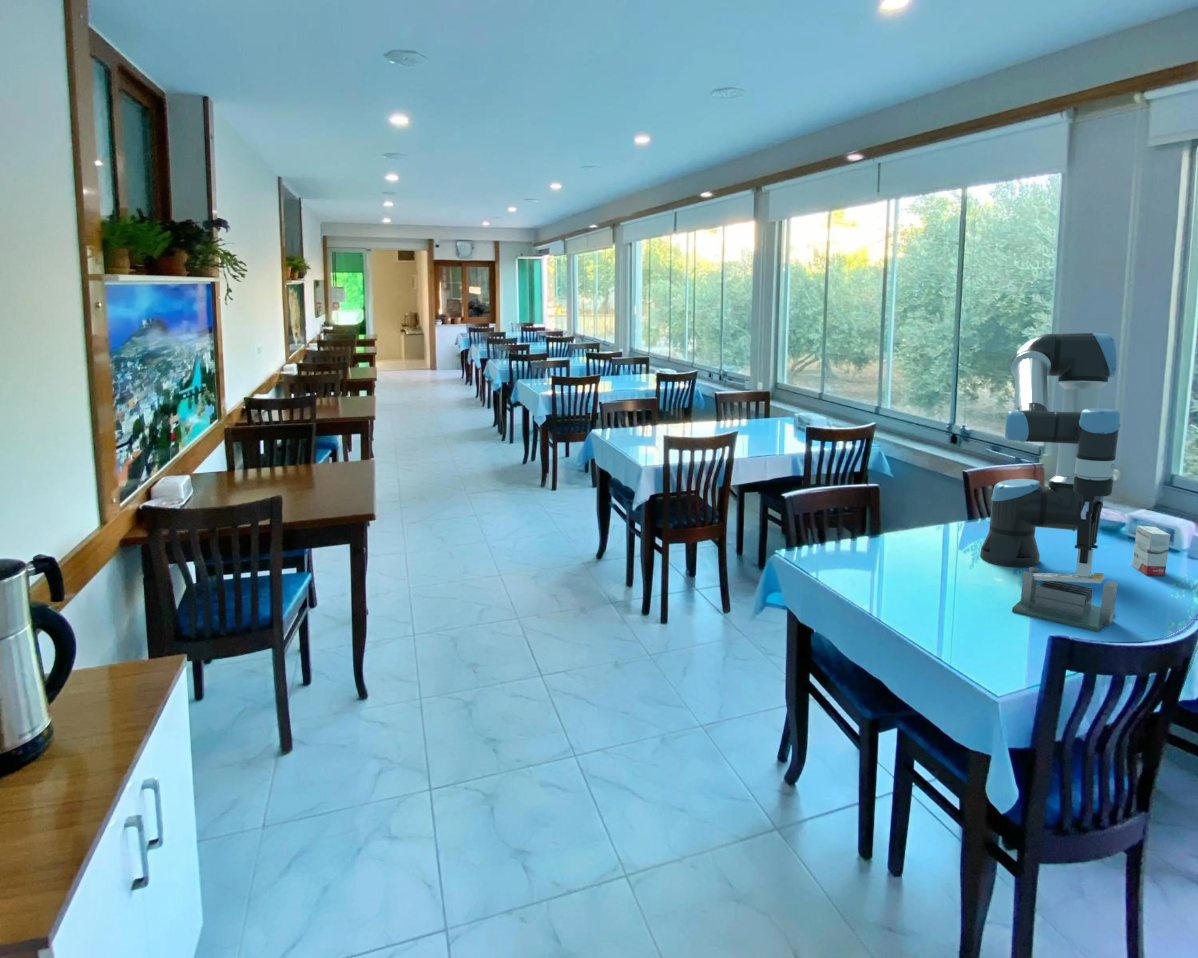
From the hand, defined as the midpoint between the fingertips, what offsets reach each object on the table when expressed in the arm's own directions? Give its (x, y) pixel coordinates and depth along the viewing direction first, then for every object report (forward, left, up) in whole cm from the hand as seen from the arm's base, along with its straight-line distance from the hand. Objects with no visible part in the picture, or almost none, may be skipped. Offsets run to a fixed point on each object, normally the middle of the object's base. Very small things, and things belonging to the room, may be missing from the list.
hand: (1083, 575), depth 180 cm
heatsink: (-3, 0, -10) cm, 11 cm away
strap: (-4, 0, -2) cm, 4 cm away
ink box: (+6, +48, -11) cm, 49 cm away
